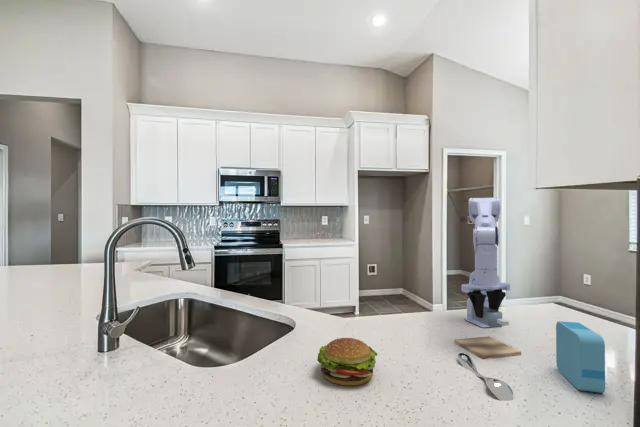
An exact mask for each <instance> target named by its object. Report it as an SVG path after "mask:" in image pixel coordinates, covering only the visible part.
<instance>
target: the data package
mask: <svg viewBox="0 0 640 427" xmlns="http://www.w3.org/2000/svg"><path fill="white" fill-rule="evenodd" d="M555 333H556V334H555V336H556V337H555V338H556V339H555V340H556V341H555V344H556V348H555V349H556V352H555V355H556V359H555V360H556V363H555V364H556V367H557V370H558V371H559V372H560V374H562V376H564V378H566V379H567V380H568V381H569V383H570V384H571V385H572V386H573V387H574V388H576V389H577V390H578V391H582V392H589V393H598V394H599V393H601V394H604V393H605V391H606V344H605V339H604V338H603V337H602V336H601V335H600V334H599V333H596V332H595V331H594V330H592V329H590V328H588V327H587V326H586V325H584V324H582V323H581V322H576V321H575V322H574V321H573V322H572V321H562V320H561V321H557V322H556V324H555Z"/></svg>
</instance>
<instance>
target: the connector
mask: <svg viewBox="0 0 640 427" xmlns="http://www.w3.org/2000/svg"><path fill="white" fill-rule="evenodd" d="M471 318H472V319H474V320H476V321H478V322H481V323H483V324H485V325H488V326H490V327H489V328H502V327H504V326H509V325H510V324H509V323H510V321H508V320H506V319H504V318H503V313H502V312H501V311H499V310H498V311H496V310H494V309H491V308H488V307H485V306H484V307H483V318H479V317H476V315H475V311H474V307H473V305H472V306H471Z"/></svg>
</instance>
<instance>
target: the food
mask: <svg viewBox="0 0 640 427" xmlns="http://www.w3.org/2000/svg"><path fill="white" fill-rule="evenodd" d="M377 356H378V353H377V352H376V351H375V350H374V349H373V348H372V347H371V346H369V345H367V343H366V342H364V341H363V340H362V341H361V340H360V339H357V338H353V337H340V338H335V339H333V340H331V341H330V342H329V343H327V344H325V345H324V346H321V347H320V348H319V351H318V353H317V360H316V361H317V362H318V363H319V364H320V372H321V373H322V375H323V376H324V378H325V379H326V380H328V381H329V382H331V383H333V384H337V385H341V386H358V385H359V386H360V385H362V384H365V383H367V382H369V381H370V380H371V379H372V377H373V373H374V369H375V367H376V365H375V364H376V362H377V360H376V358H375V357H377Z"/></svg>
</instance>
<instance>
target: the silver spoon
mask: <svg viewBox="0 0 640 427" xmlns="http://www.w3.org/2000/svg"><path fill="white" fill-rule="evenodd" d="M462 357H463V358H462ZM456 358H457V360H458V362H459V363H460V364H461V366H462V367H463V368H464V369H466V370H467V371H469V372H471V373H472V374H474V376H476V377H479V378H482V379H485V384H486V386H487V388H488V389H489V390H490V392H491V393H492V394H493V395H494V396H495V397H496V399H498V400H499V401H501V402H502V401H503V402H507V401H509V402H511V401H512V400H513V399H514V391H513V389H512V388H511V386H510V385H509V384H508V383H507V382H506V381H504V380H502V379H500V378H499V379H498V378H494V377H489V376H488V377H487V376H485V375H482V374H481V373H479V371H478V369H477V366H476V365H475V362H474V361H473V359H472V358H471V356H469V355H468V354H467V353H464V352H459V353H458V354H457V355H456ZM464 358H465V359H464ZM467 362H468V363H467Z"/></svg>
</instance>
